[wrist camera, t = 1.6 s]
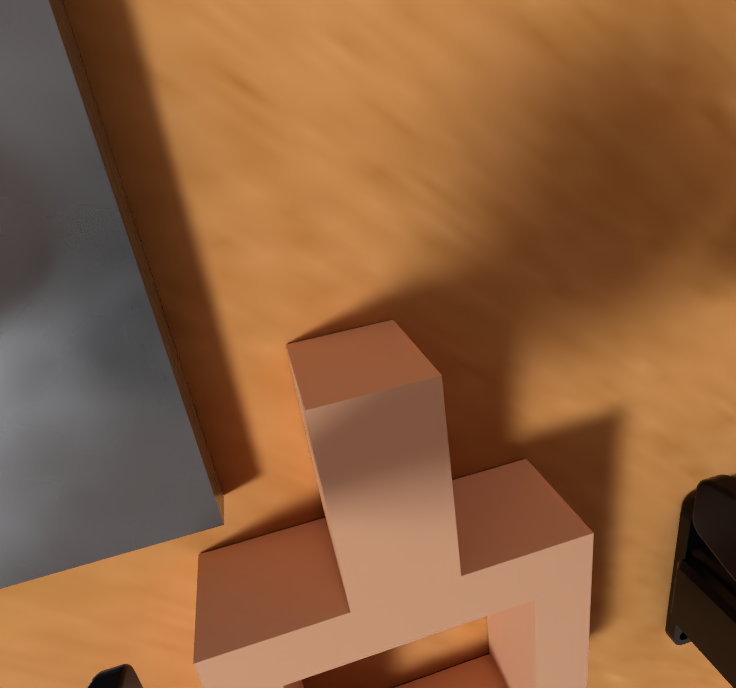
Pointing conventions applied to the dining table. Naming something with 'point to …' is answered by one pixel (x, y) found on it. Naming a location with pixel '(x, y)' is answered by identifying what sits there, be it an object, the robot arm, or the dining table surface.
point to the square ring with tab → (397, 543)
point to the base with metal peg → (81, 332)
